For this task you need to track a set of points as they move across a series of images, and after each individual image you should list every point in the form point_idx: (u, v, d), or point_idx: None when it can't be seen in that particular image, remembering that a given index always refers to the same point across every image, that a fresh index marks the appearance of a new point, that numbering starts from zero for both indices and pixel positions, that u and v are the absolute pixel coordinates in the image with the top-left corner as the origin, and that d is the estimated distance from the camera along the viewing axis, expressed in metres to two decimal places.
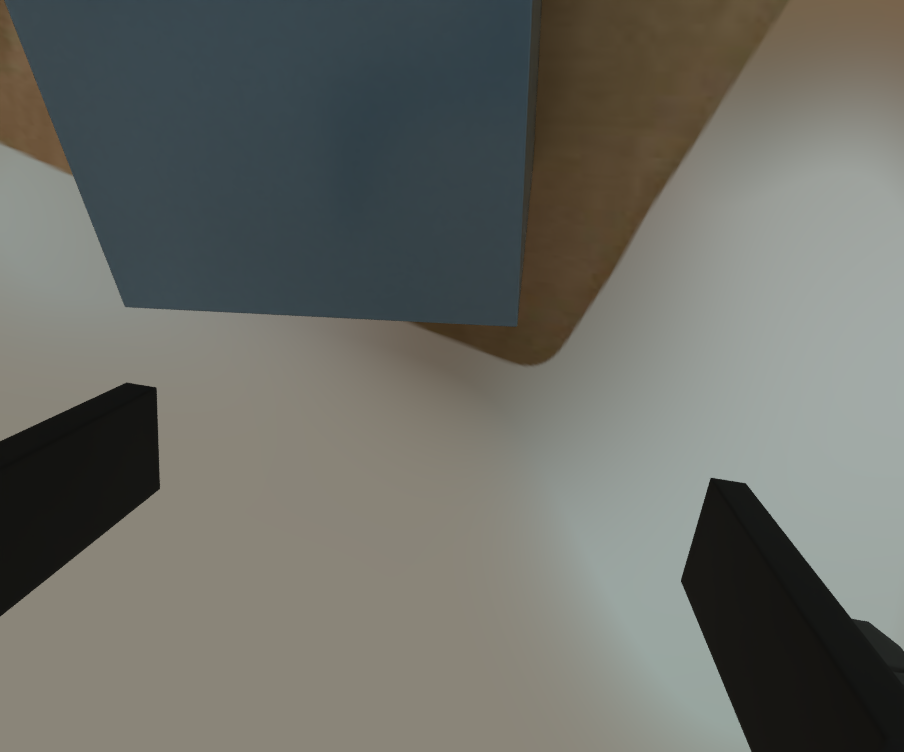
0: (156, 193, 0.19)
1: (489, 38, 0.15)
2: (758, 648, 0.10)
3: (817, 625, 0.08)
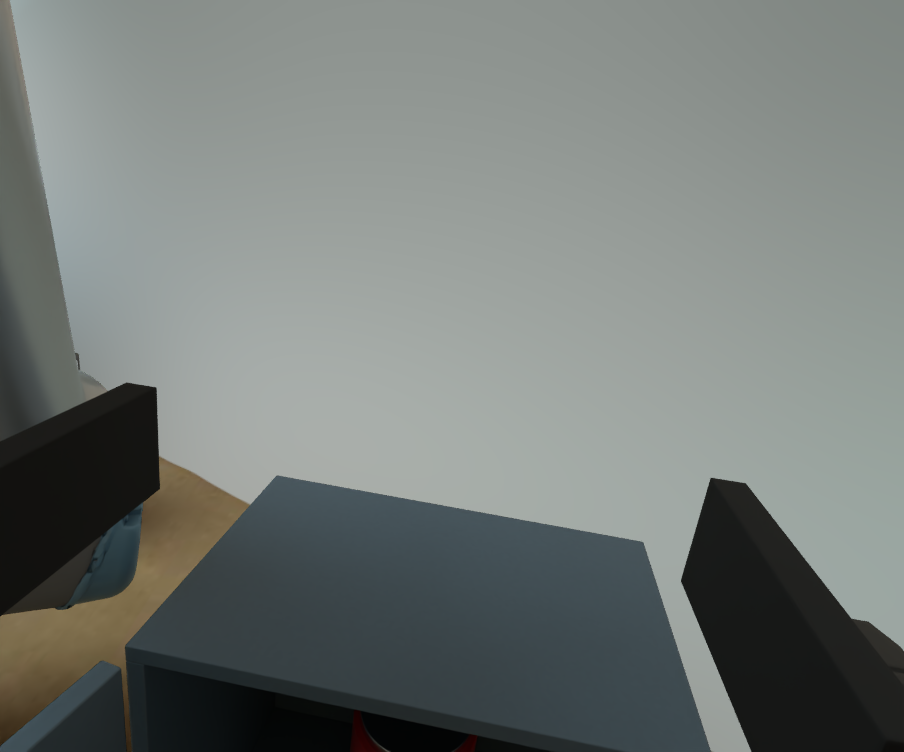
0: (590, 685, 0.25)
1: (501, 525, 0.36)
2: (758, 647, 0.10)
3: (817, 625, 0.08)
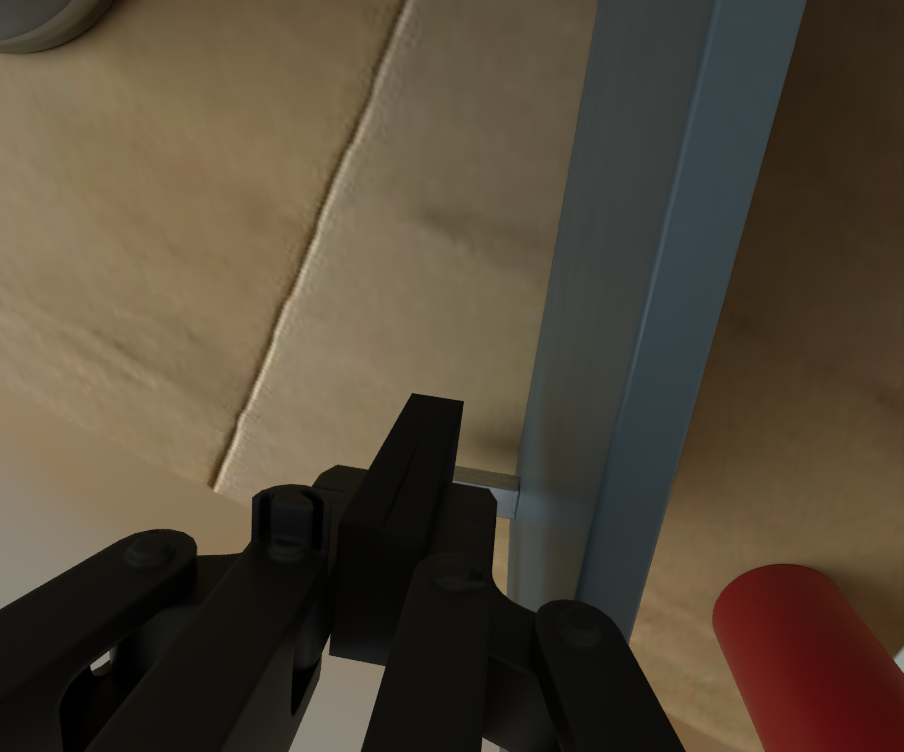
0: None
1: None
2: None
3: (409, 476, 0.11)
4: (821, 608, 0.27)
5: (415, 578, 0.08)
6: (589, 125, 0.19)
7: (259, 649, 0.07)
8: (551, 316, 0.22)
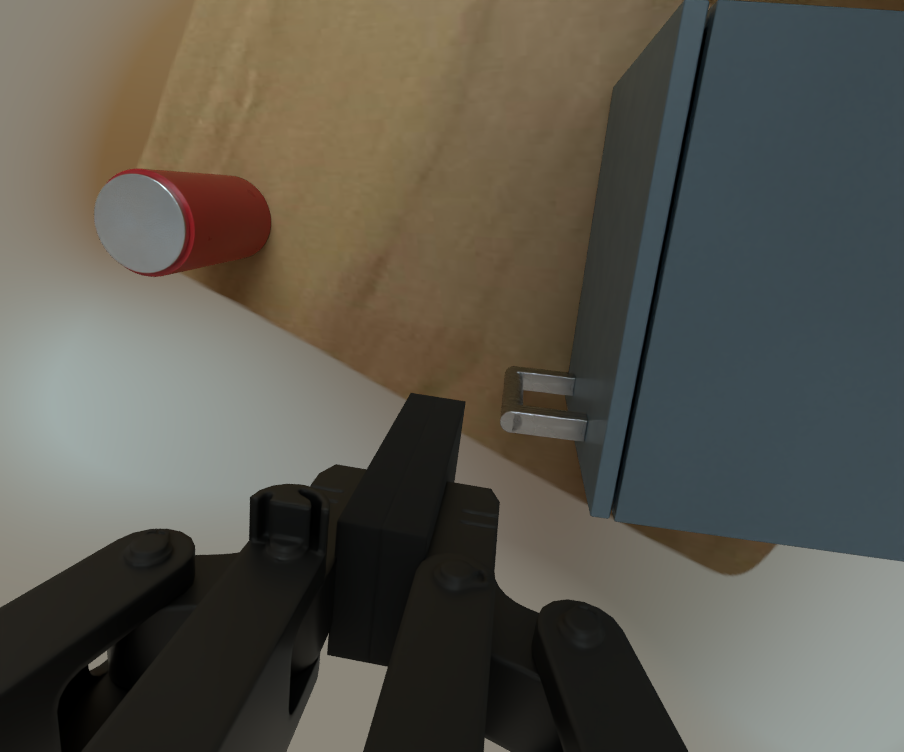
0: (689, 450, 0.28)
1: None
2: None
3: (411, 477, 0.11)
4: (253, 223, 0.44)
5: (417, 578, 0.08)
6: (611, 175, 0.37)
7: (257, 648, 0.07)
8: (592, 275, 0.41)
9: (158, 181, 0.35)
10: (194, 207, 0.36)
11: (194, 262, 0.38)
